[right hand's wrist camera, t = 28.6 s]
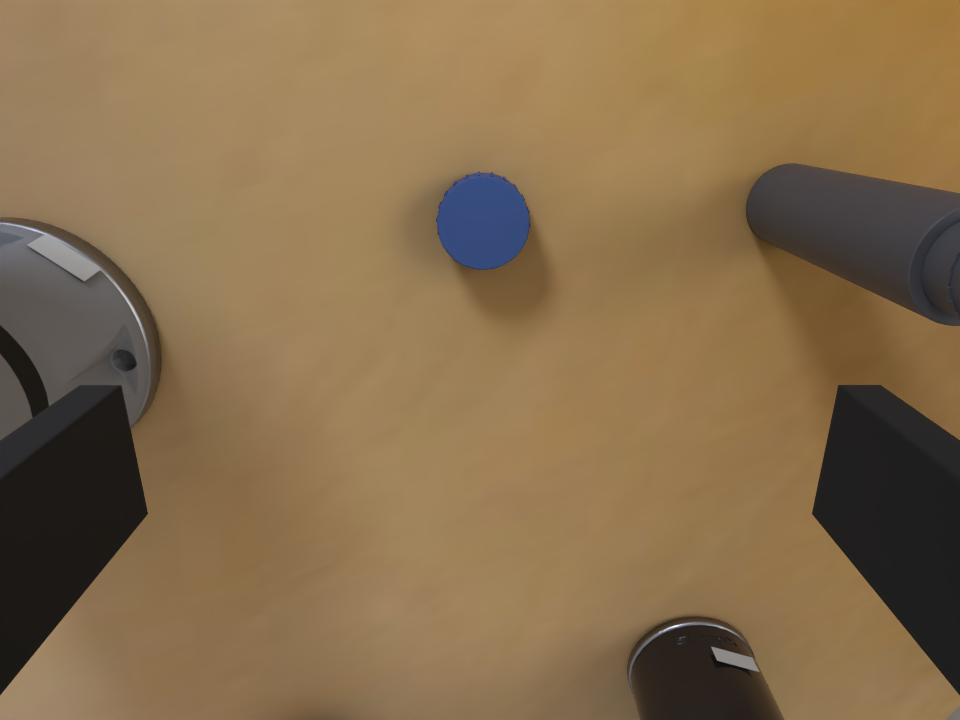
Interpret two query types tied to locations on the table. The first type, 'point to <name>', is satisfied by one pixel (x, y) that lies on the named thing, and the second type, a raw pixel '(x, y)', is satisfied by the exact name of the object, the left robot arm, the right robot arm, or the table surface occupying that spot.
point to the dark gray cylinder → (866, 233)
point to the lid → (483, 221)
